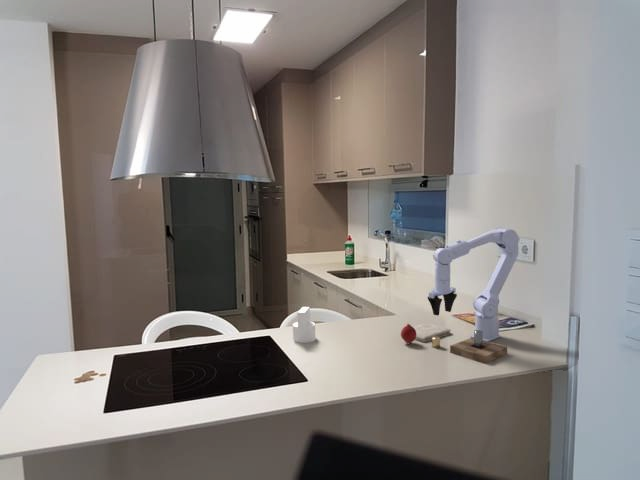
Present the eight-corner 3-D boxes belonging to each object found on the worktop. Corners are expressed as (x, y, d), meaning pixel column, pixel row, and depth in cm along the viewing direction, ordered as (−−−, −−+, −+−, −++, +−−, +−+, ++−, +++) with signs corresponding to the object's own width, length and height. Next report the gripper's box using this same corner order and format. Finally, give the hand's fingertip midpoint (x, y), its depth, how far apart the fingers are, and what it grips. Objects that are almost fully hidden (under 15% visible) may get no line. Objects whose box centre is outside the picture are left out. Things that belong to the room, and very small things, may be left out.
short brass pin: (435, 344, 170) (435, 335, 169) (441, 347, 167) (441, 337, 167) (430, 346, 168) (430, 337, 168) (436, 348, 166) (436, 339, 165)
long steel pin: (476, 350, 163) (477, 329, 162) (484, 353, 160) (484, 331, 159) (471, 352, 161) (472, 331, 160) (478, 355, 159) (479, 333, 158)
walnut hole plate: (472, 343, 170) (472, 337, 170) (507, 353, 159) (507, 347, 159) (450, 352, 162) (450, 345, 161) (485, 363, 151) (485, 356, 150)
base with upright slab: (312, 343, 174) (312, 313, 173) (290, 342, 176) (289, 312, 174) (317, 335, 183) (317, 307, 181) (296, 334, 185) (295, 306, 183)
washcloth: (452, 334, 183) (452, 327, 183) (423, 344, 172) (424, 336, 172) (429, 328, 192) (429, 321, 192) (400, 336, 181) (400, 329, 181)
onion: (416, 341, 174) (416, 321, 173) (415, 346, 168) (415, 326, 167) (401, 340, 175) (401, 320, 174) (400, 345, 170) (400, 325, 169)
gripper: (445, 275, 181) (444, 308, 183) (422, 280, 172) (422, 314, 174) (460, 277, 176) (459, 311, 177) (437, 282, 167) (437, 318, 168)
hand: (442, 313), depth 175 cm, fingers open, 7 cm apart
